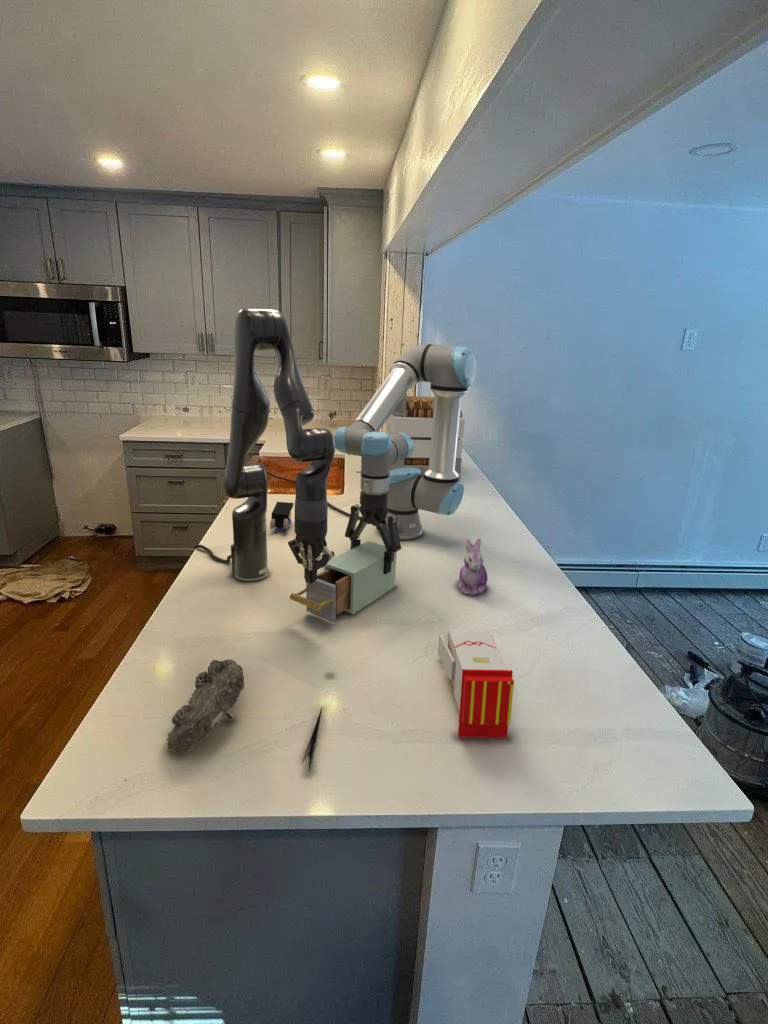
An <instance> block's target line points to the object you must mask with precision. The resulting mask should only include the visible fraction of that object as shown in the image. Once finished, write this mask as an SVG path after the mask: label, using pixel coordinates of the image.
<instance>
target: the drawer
mask: <svg viewBox="0 0 768 1024" xmlns="http://www.w3.org/2000/svg"><path fill="white" fill-rule="evenodd" d="M305 593H306V594H305ZM303 594H305V595H306V596H305V597H304V596H302V595H303ZM350 598H351V576H350V575H347V574H344V573H342V572H339V571H336V570H333V569H330V568H329V569H327V570H325V571H324V570H323V571H321V572H319V573H317V580H316V581H315V582H313V583H312V584H310V583H307V582H306V581H305V588H304V589H301V590H300V591H298V592H296V593H294V592H292V593H291V594H289V600H291V601H293V602H296V603H298V604H300V605H303V606H305V608H306V609H305V610H306V612H308V613H309V614H312V615H315V616H317V617H319V618H322V619H324V620H326V621H329V622H331V623H333V622H336V620H337V618H336V617H337V616H338V615H340V614H342V613H343V612H345V610H346V609H348V608H349V607H350Z"/></svg>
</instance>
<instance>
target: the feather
mask: <svg viewBox="0 0 768 1024" xmlns="http://www.w3.org/2000/svg"><path fill="white" fill-rule="evenodd" d="M329 675H330V676H331V675H332V674H331V673H330V674H329ZM322 710H323V707H321V708H320V710H319V713H318V716H317V719H316V723H315V725H314V728H313V731H312V733H311V737H310V739H309V742H308V745H307V748H306V751H305V754H304V757H303V760H302V763H301V767H302V765H303V763H304V761H305V758H308V759H309V760H308V762H307V763H308V764H307V766H308V771H310V770H311V766H312V765H311V764H312V760H313V757H315V756H314V755H315V751H316V749H315V746H317V739H318V733H319V729H320V722H321V717H322V712H323V711H322ZM313 754H314V755H313ZM306 755H307V757H306Z"/></svg>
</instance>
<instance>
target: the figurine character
mask: <svg viewBox="0 0 768 1024" xmlns="http://www.w3.org/2000/svg"><path fill="white" fill-rule="evenodd" d="M294 506H295V502H287V501H285V502H284V501H276V504H275V505H274V508H273V510H272V512H271V515H270V516H271V518H270V520H269V521H270V522H269V529H272V530H274V533H276V534H277V533H278V530H280V531H282V534H285V533H286V531H287V530H288V529H289V528H290V525H292V511H293V508H294Z"/></svg>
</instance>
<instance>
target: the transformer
mask: <svg viewBox="0 0 768 1024" xmlns="http://www.w3.org/2000/svg"><path fill="white" fill-rule="evenodd" d="M407 394H408V392H406V394H405V395H404V396H403V398H402V399H401V401H400V402H399V403H398V405H397V406H396V408H395V409H394V411H393V412H392V413H391V415H390V416H389V418H388V419H387V421H386V422H385V424H386V428H385V433H387V434H395V433H405V434H407V435H408V436H409V437H410V438H411V439H412V441H413V452H412V454H411V455H410V456H409V457H407V458H406V459H404V460H403V461H400V462H397V463H394V464H392V465H390V469H389V472H390V471H391V470H393V469H397V468H405V466H406V467H409V466H411V467H417V466H418V467H429V459H430V447H431V435H432V422H433V410H434V398H435V396H415V395H414V396H413V395H412V396H411V395H407ZM464 429H465V419H464V418H463V411H462V410H461V411H460V421H459V431H458V442H457V452H456V462H455V471H456V472H457V473H458V475H459V479H458V482H461V472H462V461H463V460H462V453H463V442H464V441H463V440H462V439H463V438H464V431H465V430H464Z"/></svg>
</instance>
